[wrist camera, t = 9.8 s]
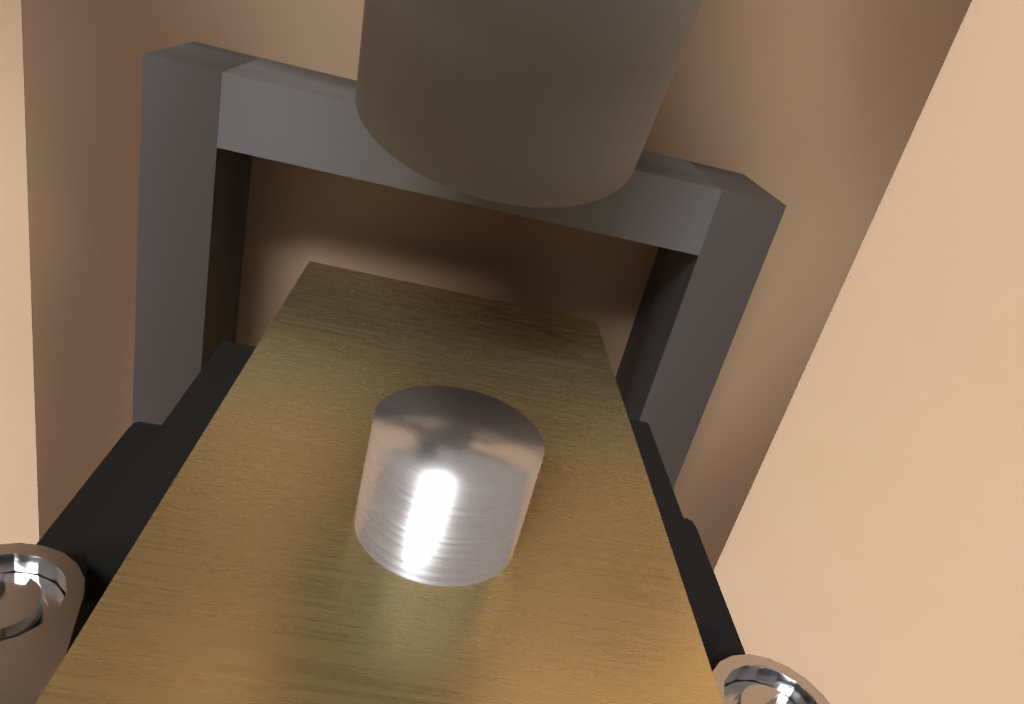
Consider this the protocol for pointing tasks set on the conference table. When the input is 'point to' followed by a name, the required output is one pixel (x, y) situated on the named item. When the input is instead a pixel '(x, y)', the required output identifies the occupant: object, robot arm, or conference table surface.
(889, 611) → the conference table surface
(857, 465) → the conference table surface
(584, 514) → the block
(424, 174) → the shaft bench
